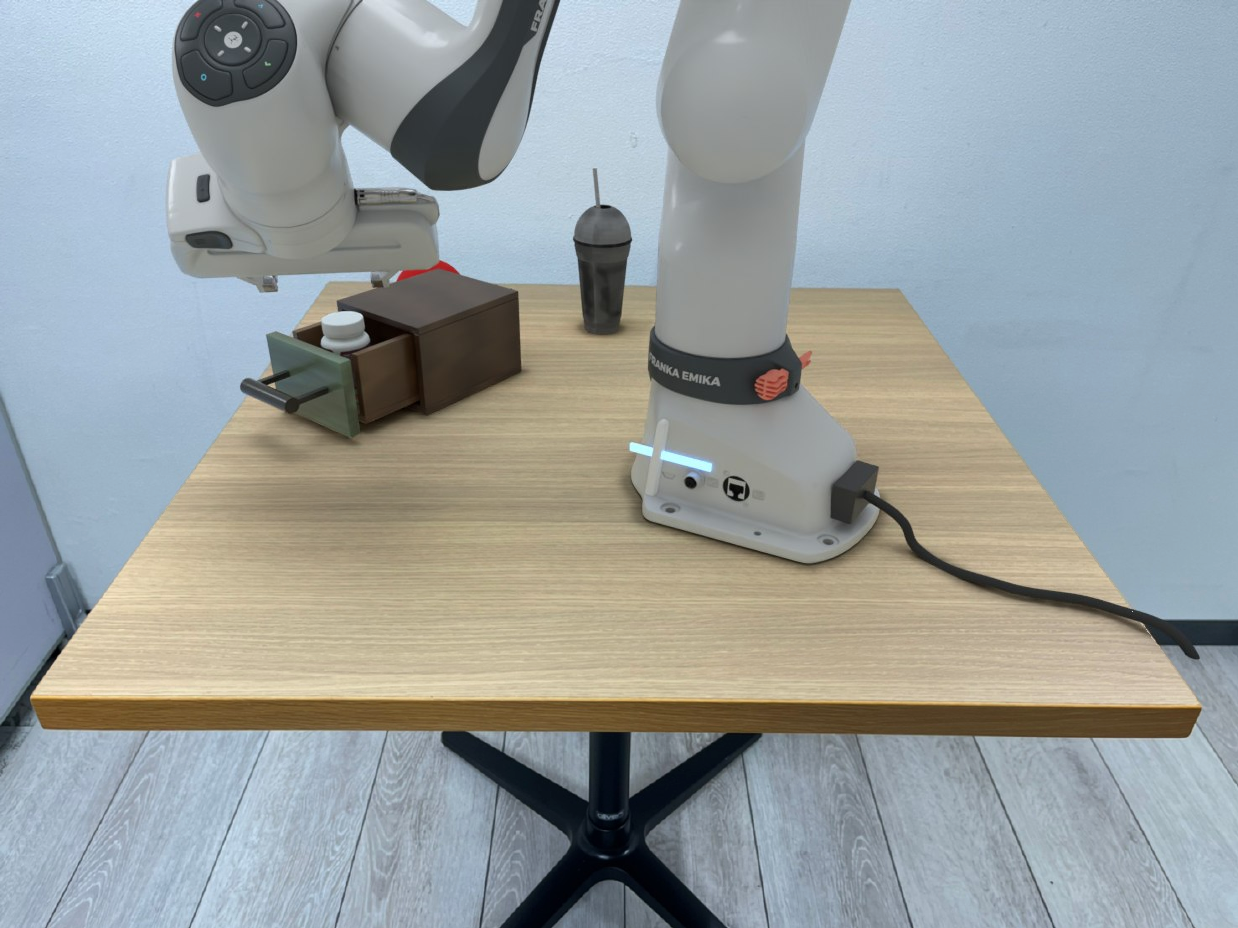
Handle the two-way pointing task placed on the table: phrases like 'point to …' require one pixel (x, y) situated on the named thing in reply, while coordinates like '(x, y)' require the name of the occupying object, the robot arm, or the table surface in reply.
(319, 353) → the drawer
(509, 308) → the cabinet
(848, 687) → the table surface
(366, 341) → the pill bottle
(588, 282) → the beverage cup
